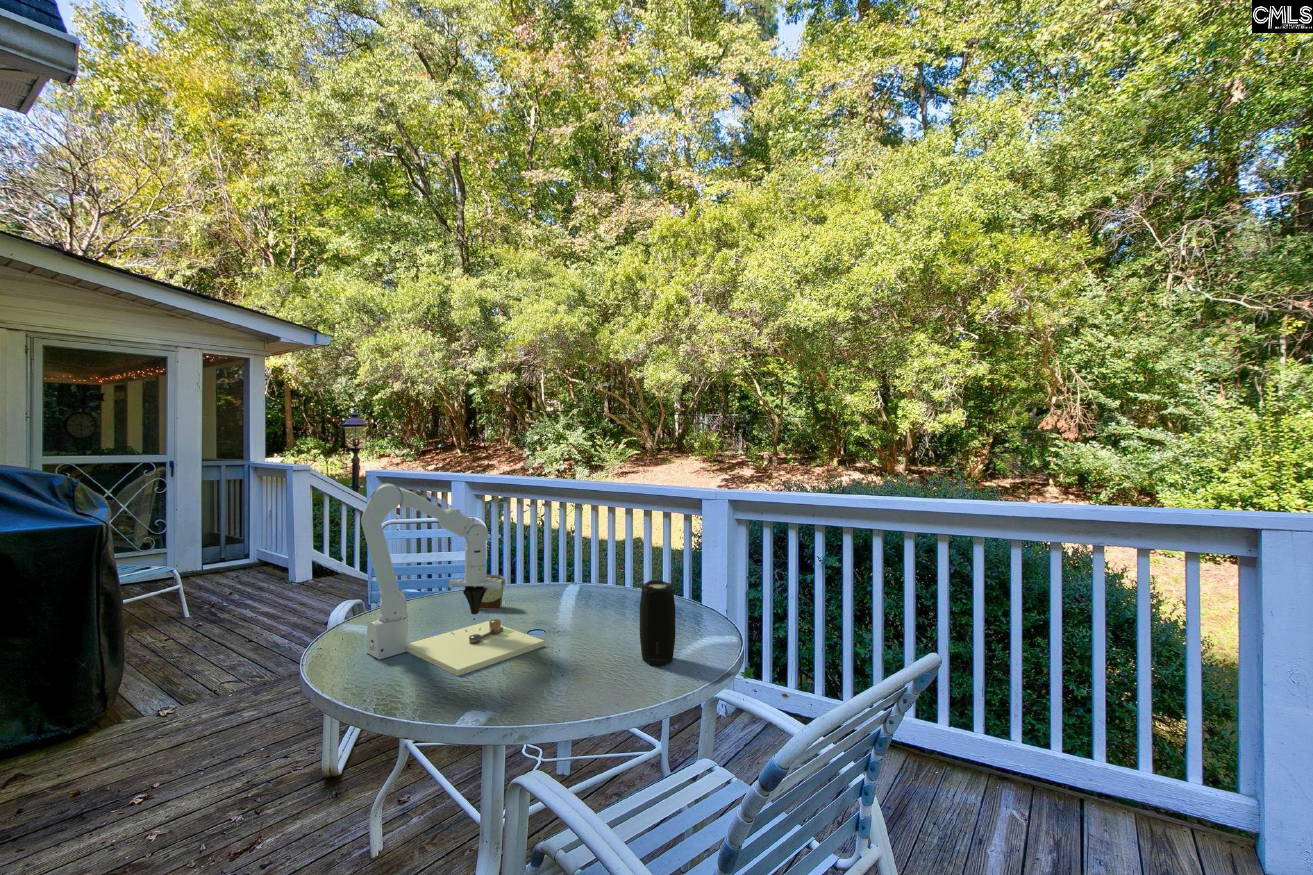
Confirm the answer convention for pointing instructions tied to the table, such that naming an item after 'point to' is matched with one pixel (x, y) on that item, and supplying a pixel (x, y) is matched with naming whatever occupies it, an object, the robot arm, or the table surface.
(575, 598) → the table surface
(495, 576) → the food container
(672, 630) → the portable speaker
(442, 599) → the table surface
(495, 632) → the dial needle
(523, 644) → the dial board
